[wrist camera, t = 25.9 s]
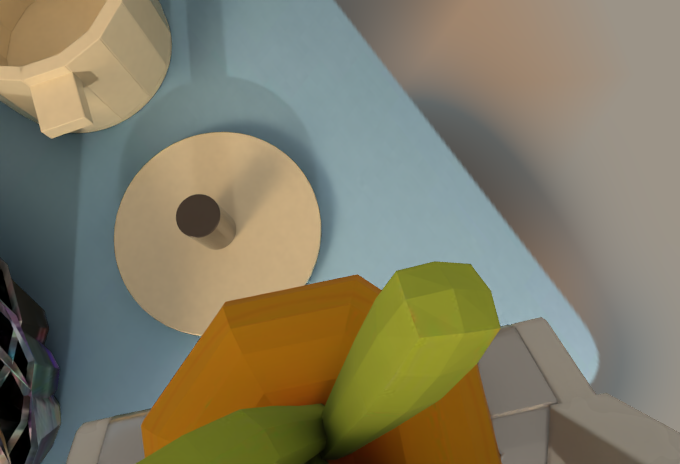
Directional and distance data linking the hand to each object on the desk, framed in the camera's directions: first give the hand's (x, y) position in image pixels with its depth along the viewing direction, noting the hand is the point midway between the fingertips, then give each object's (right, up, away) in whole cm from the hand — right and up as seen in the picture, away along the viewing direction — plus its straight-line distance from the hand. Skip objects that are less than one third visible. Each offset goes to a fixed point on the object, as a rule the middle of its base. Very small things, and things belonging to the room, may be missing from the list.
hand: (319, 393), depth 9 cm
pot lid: (-7, +3, +24) cm, 25 cm away
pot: (-17, +15, +27) cm, 35 cm away
